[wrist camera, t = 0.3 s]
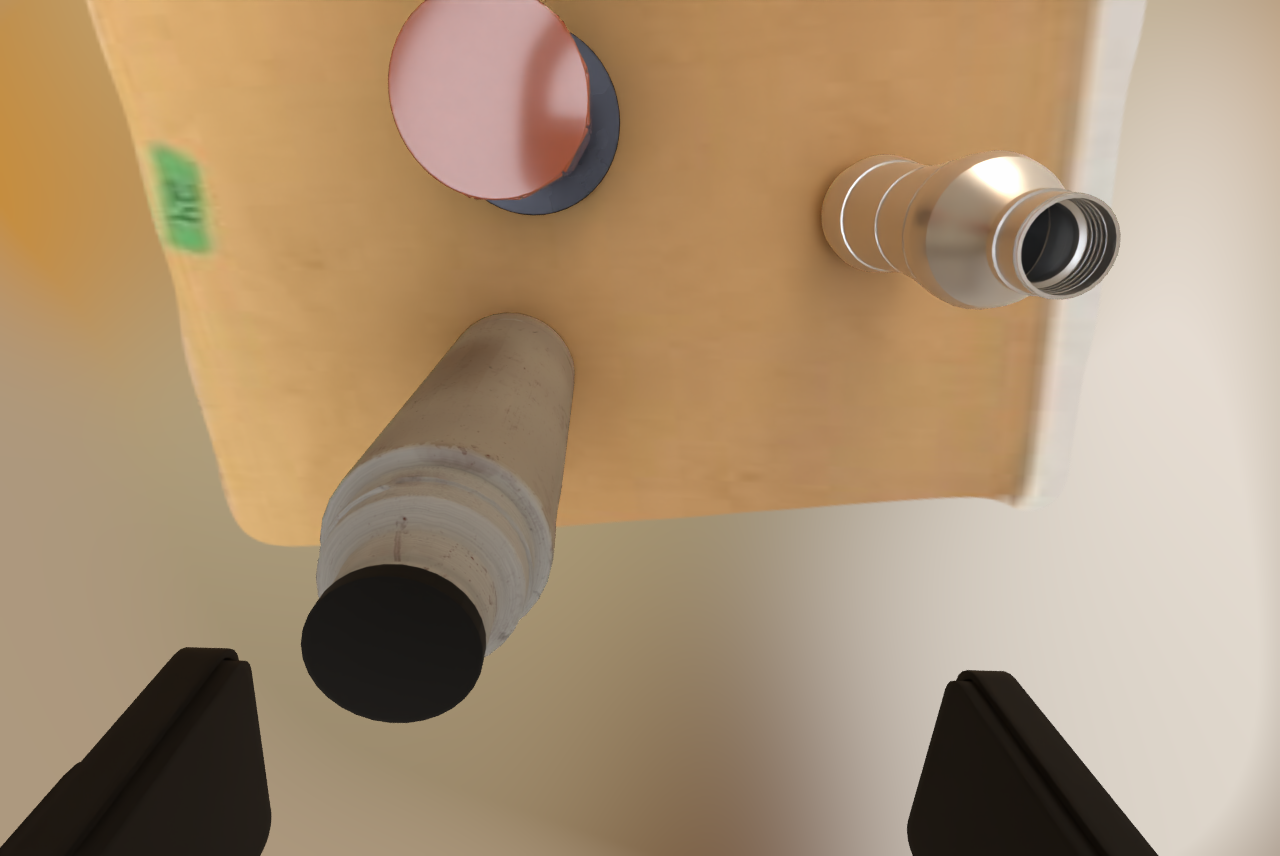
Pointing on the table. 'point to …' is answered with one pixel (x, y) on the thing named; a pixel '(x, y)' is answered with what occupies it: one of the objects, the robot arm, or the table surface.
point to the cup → (490, 96)
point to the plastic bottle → (971, 227)
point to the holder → (594, 156)
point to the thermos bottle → (444, 526)
